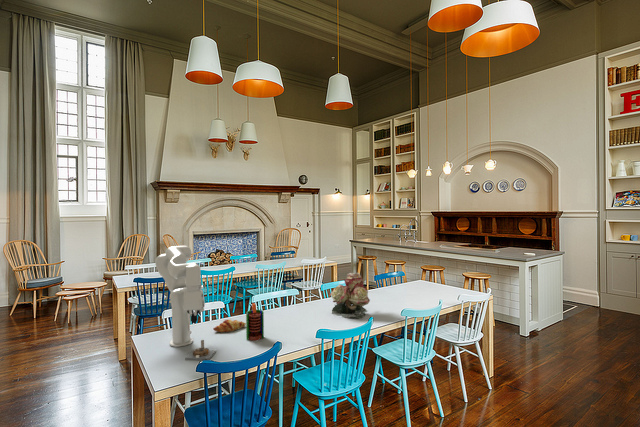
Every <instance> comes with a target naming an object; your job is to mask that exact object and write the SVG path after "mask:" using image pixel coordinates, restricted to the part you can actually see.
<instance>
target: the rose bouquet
mask: <svg viewBox="0 0 640 427" xmlns="http://www.w3.org/2000/svg"><path fill="white" fill-rule="evenodd" d="M343 281H344V283H345V285H342V284H338V285H336V287H335V288H334V289H333V290H332V291H331V292H330V294H329V295H330V297H331V298H332V300H333V301H332V303H333V304H334V303H335V304H334V307H332V309H331V314H332V315H334V316H335V315H336V316H341V317H342V318H347V319H348V318H356V319H357V320H359V319H362V318H364V316H366V315H367V313H368V310H367V309H366V308H365V307H364V306H367V305H368V304H369V303H370V301H371V299H370V298H369V289H367V287H366V286H364V281H365V279H364V278H363V277H362V275H361V273H359V272H356V273H354V272H351V271H350V272H349V273H347V274H346V278H345V279H343Z"/></svg>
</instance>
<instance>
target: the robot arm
mask: <svg viewBox="0 0 640 427" xmlns="http://www.w3.org/2000/svg"><path fill="white" fill-rule="evenodd" d="M191 257H192V249H191V247H189V246H188V245H173V246H169V247H167V249H166V250H165V253H162V254H159V255H158V256H156V258H155V267H156V271H157V272H158V274H159V275H160V276H161V277H162V278H163V280H164V282H165V284H166V287H167V288H168V290H169V292H170V294H169V301H170V306H171V325H172V326H171V328H172V329H171V330H172V331H171V332H172V339H171V340H170V341H169V346H171V347H173V348H174V347H176V348H179V347H185V346H189V345H190V344H192V343H193V342H194V338H193V337H191V334H192V330H191V324H196V323H197V322H198V315H199V314H200V313H202V312H205V305H206V304H205V302H206V301H205V296H204V291H203V289H204V286H203V285H202V283H201V282H202V281H201V280H202V279H201V275H202V274H201V266H200V265H199V264H197V263H195V262H188V261H189V260H190V259H191ZM187 262H188V263H187Z"/></svg>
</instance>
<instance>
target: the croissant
mask: <svg viewBox="0 0 640 427" xmlns="http://www.w3.org/2000/svg"><path fill="white" fill-rule="evenodd" d="M244 327H246V322H244V321H240V320H237V319H235V320H232V319H225V320H224V321H223V322H220V323H219V325H216V326H215V327H213V331H214V332H219V333H229V332H230V333H231V332H233V331H237V330H239V329H242V328H244Z"/></svg>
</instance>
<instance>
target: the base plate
mask: <svg viewBox="0 0 640 427" xmlns="http://www.w3.org/2000/svg"><path fill="white" fill-rule="evenodd" d="M194 350H195V349H193V350H191V352H189V353H188V354H187V355H186V356H185V361H186V360H187V361H192V360H193V361H206V360H205V359H208V360H207V361H209V360H211V359H212V358H213V356H214V355H215V354H216V353H217V350H216V349H209V353H208V354H207V355H203V356H202V357H201V356H199V355H196V357H195V356H194V355H193V351H194ZM210 358H211V359H210Z"/></svg>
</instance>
